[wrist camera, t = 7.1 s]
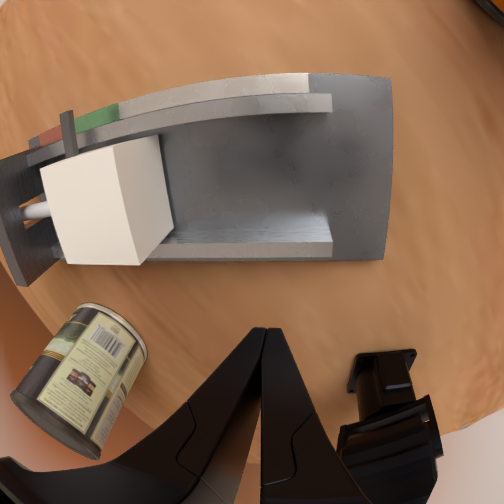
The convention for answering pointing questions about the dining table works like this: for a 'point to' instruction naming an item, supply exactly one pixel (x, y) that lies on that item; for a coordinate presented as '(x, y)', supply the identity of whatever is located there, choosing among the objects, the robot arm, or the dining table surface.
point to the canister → (494, 9)
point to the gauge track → (235, 170)
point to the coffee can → (82, 379)
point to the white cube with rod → (105, 200)
